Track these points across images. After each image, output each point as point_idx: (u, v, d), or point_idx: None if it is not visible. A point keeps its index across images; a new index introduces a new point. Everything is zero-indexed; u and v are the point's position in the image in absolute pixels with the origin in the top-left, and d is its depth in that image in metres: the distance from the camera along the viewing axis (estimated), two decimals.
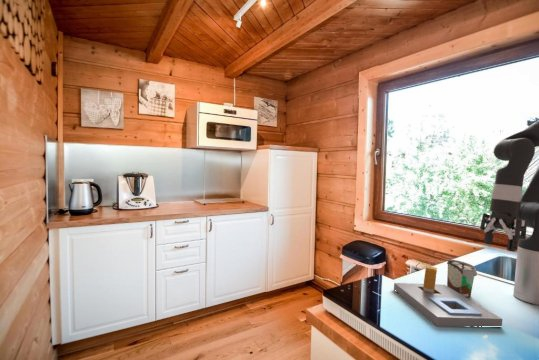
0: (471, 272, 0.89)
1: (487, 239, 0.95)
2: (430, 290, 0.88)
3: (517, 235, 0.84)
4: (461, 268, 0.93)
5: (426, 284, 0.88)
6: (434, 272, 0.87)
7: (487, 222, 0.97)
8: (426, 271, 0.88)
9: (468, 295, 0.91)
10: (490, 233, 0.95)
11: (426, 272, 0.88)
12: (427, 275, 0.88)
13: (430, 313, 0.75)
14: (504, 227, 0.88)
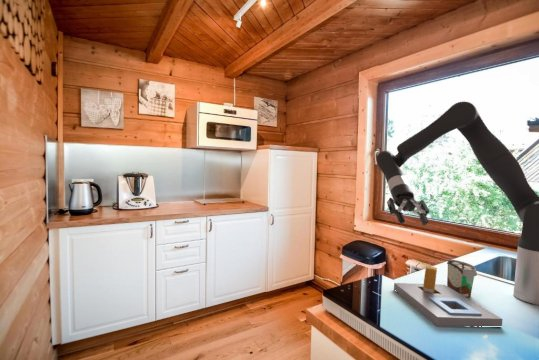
0: (471, 272, 0.89)
1: (422, 221, 1.01)
2: (430, 290, 0.88)
3: None
4: (461, 268, 0.93)
5: (426, 284, 0.88)
6: (434, 272, 0.87)
7: (422, 208, 1.05)
8: (426, 271, 0.88)
9: (468, 295, 0.91)
10: (421, 215, 1.02)
11: (426, 272, 0.88)
12: (427, 275, 0.88)
13: (430, 313, 0.75)
14: None
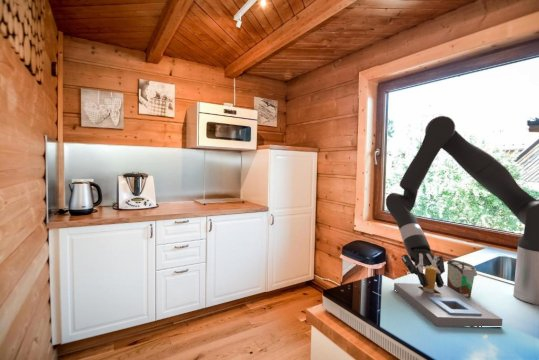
0: (471, 272, 0.89)
1: (436, 282, 0.89)
2: (430, 290, 0.88)
3: None
4: (461, 268, 0.93)
5: None
6: (434, 272, 0.87)
7: (438, 264, 0.93)
8: (426, 271, 0.88)
9: (468, 295, 0.91)
10: None
11: (426, 272, 0.88)
12: (427, 274, 0.88)
13: (430, 313, 0.75)
14: None
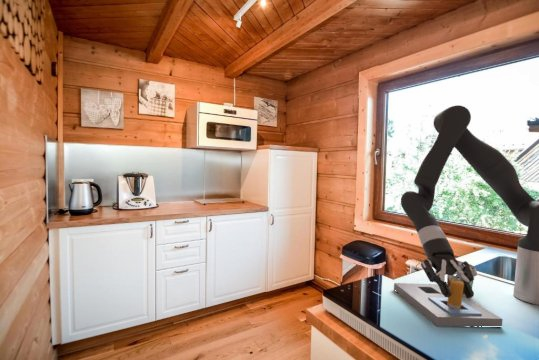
0: None
1: (464, 292, 0.78)
2: (456, 307, 0.77)
3: None
4: None
5: (451, 300, 0.78)
6: (461, 286, 0.77)
7: (464, 271, 0.82)
8: (451, 285, 0.78)
9: None
10: None
11: (451, 286, 0.78)
12: (452, 289, 0.78)
13: (430, 313, 0.75)
14: None
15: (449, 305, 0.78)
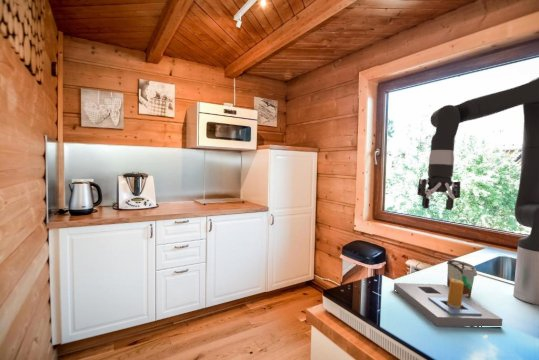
0: (471, 272, 0.89)
1: (446, 204, 0.99)
2: (456, 307, 0.77)
3: None
4: (461, 268, 0.93)
5: (451, 300, 0.78)
6: (461, 286, 0.77)
7: (454, 189, 0.98)
8: (451, 285, 0.78)
9: (468, 295, 0.91)
10: (449, 198, 0.98)
11: (451, 286, 0.78)
12: (452, 289, 0.78)
13: (430, 313, 0.75)
14: None
15: (449, 305, 0.78)
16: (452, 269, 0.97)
